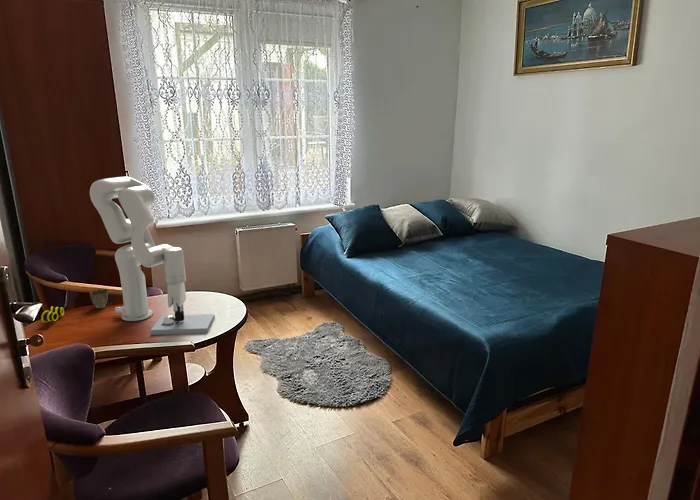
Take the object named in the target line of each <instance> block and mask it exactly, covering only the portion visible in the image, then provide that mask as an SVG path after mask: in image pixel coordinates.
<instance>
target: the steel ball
mask: <svg viewBox="0 0 700 500" xmlns="http://www.w3.org/2000/svg"><path fill="white" fill-rule="evenodd" d="M165 316H166V317H165V318H164V320H163V324H164V325H177V323H176V321H175V317H174V316H171V315H168V316H167V315H165Z"/></svg>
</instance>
